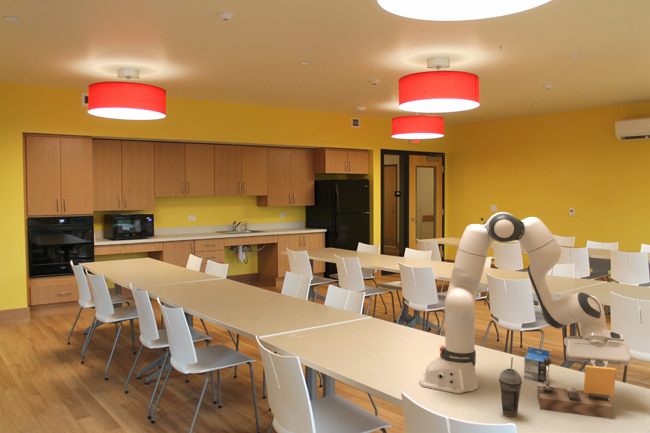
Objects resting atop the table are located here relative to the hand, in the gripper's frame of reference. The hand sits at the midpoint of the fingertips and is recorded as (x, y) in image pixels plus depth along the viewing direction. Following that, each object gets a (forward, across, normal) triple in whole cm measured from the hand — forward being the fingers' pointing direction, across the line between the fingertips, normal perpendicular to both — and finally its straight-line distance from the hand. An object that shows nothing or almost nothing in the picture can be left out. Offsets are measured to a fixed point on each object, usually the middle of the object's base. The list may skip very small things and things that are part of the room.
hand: (600, 373), depth 169 cm
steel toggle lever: (+5, -16, +6) cm, 18 cm away
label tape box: (-8, -18, +27) cm, 33 cm away
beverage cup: (+18, -30, 0) cm, 35 cm away
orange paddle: (+5, 0, +6) cm, 8 cm away
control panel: (+9, -8, +10) cm, 15 cm away
